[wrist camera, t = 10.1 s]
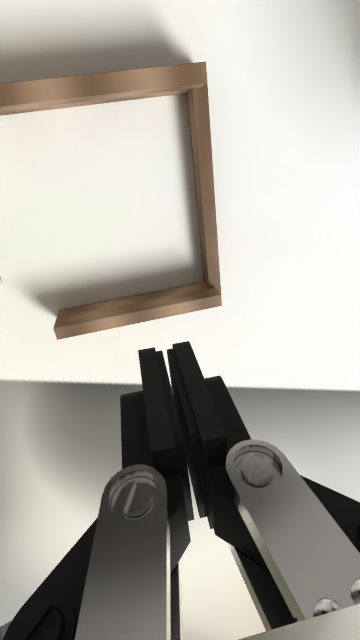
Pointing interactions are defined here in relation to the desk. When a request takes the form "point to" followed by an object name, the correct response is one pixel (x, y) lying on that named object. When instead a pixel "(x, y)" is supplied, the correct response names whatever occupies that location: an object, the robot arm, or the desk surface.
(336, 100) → the desk surface
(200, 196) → the walnut open frame
